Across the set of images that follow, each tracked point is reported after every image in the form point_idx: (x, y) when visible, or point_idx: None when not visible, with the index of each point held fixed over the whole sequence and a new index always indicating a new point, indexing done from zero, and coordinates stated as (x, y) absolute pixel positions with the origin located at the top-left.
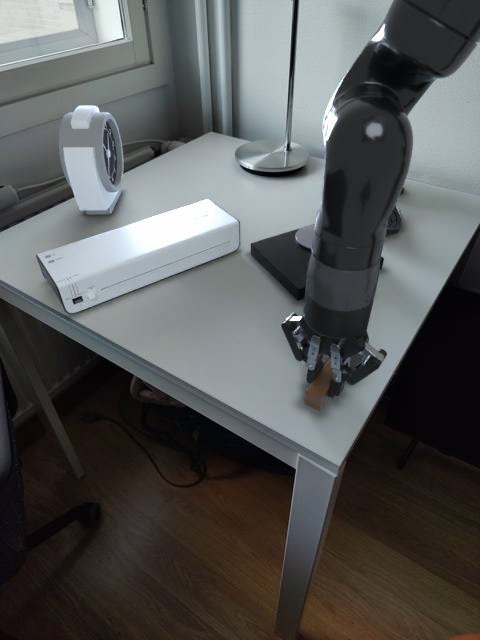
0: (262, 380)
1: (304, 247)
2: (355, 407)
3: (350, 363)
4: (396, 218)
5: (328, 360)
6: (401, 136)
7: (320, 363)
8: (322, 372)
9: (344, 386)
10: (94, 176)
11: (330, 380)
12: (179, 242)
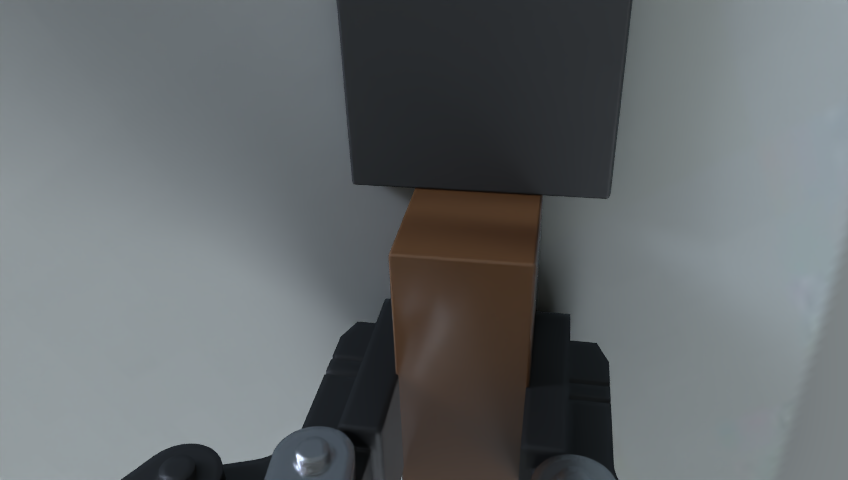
0: (149, 408)
1: None
2: (722, 367)
3: (547, 47)
4: None
5: (369, 114)
6: None
7: (369, 472)
8: (415, 406)
9: (609, 376)
10: None
11: (503, 441)
12: None
